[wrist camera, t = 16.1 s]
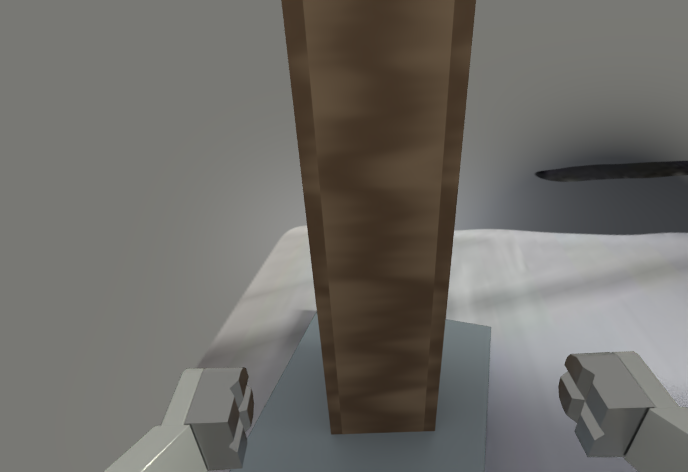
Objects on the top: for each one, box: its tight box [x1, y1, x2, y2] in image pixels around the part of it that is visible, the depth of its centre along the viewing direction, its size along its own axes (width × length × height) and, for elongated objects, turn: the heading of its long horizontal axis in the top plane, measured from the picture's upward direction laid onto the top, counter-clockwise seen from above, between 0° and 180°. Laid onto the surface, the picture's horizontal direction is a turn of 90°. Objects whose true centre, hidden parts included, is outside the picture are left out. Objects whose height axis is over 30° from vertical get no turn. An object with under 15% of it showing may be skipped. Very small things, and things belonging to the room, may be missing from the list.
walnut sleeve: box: [281, 0, 476, 435], centre depth 23 cm, size 6×6×24 cm
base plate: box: [229, 312, 491, 472], centre depth 28 cm, size 14×16×8 cm
